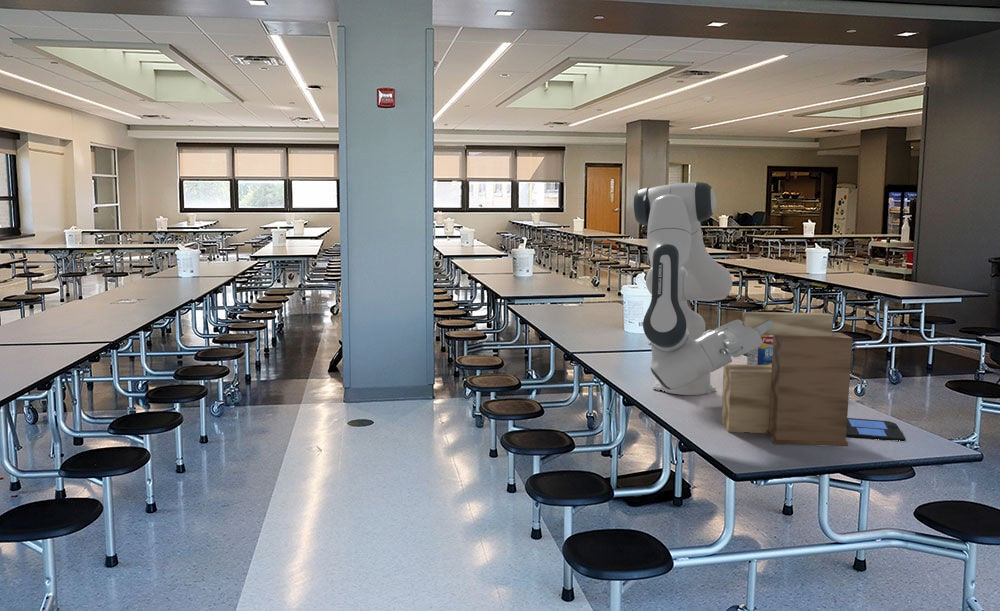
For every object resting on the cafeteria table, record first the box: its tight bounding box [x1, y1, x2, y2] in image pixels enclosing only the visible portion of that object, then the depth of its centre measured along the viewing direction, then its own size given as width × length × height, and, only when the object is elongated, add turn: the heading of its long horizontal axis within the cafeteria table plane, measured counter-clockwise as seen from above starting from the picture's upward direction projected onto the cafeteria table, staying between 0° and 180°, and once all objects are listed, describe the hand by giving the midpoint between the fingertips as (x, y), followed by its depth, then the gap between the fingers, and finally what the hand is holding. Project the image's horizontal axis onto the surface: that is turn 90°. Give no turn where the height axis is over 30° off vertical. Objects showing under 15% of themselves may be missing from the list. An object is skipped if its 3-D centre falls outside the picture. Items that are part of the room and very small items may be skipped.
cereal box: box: [746, 335, 773, 365], centre depth 248 cm, size 7×11×22 cm, turn 100°
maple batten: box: [742, 311, 834, 336], centre depth 186 cm, size 4×20×5 cm, turn 85°
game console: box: [846, 417, 906, 442], centre depth 196 cm, size 14×13×2 cm
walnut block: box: [765, 332, 853, 448], centre depth 187 cm, size 8×17×26 cm, turn 85°
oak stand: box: [721, 363, 772, 434], centre depth 198 cm, size 9×22×17 cm, turn 85°
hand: (768, 321), depth 186 cm, fingers closed on maple batten, 3 cm apart
